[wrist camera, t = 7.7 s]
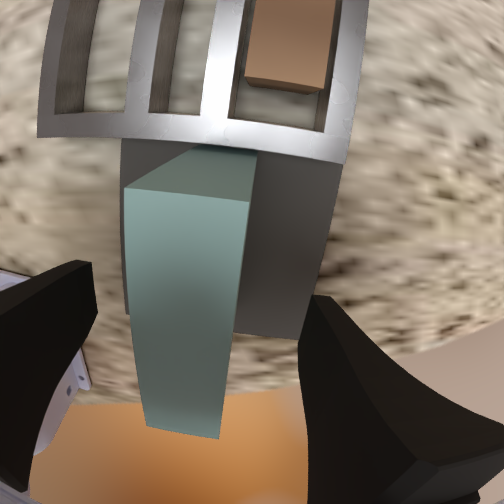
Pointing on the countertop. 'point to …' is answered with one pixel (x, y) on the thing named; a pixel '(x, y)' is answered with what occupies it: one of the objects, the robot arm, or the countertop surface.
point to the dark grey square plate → (262, 231)
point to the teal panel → (186, 282)
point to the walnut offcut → (290, 45)
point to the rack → (214, 90)
